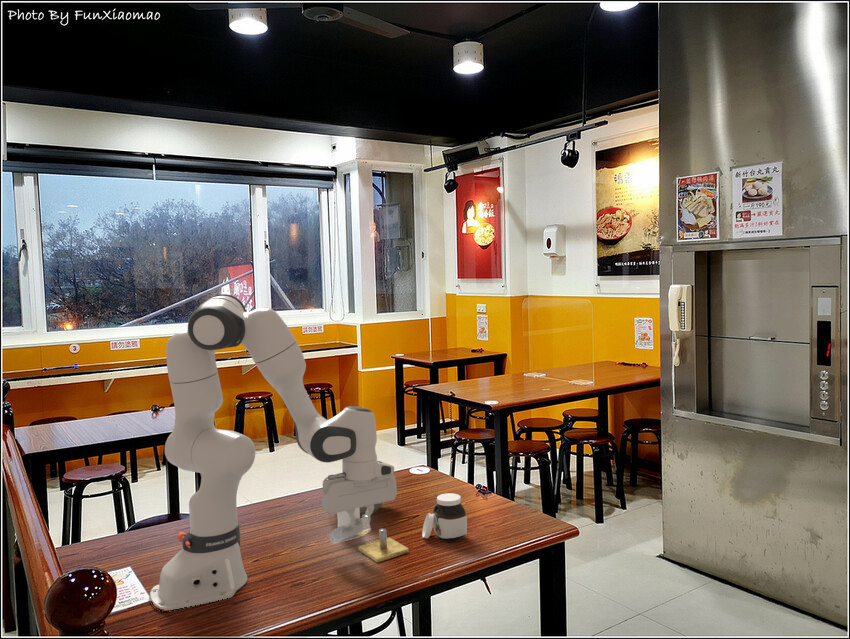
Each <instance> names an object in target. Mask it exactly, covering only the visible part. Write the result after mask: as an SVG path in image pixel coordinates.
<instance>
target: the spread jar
mask: <svg viewBox="0 0 850 639" xmlns="http://www.w3.org/2000/svg"><path fill="white" fill-rule="evenodd" d="M461 502H462V497H461V495H460V494H458V493H449V492H448V493H442V494H439V495H437V497H436V504H435V505H434V506H433V510H432V513H430V512H429V513H427V514H426V516H425V518H424V521H423V526H422V532H421V533H422V534H421V535H422V536H421V537H422V538H424V539H429V537H430V536H431V534H432V533H431V532H432V529H433V531H434V534H435V536H436V538H437V539H438V540H440V541H441V542H445V543H455V542H458V541H461V540H462V539H463V538H465V536H466V535H467V533H468V520H467V519H468V518H467V511H466V509H465V507H464V505H463V504H462V503H461Z"/></svg>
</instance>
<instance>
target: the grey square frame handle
mask: <svg viewBox="0 0 850 639" xmlns="http://www.w3.org/2000/svg"><path fill="white" fill-rule="evenodd" d="M358 522H359V524H358V525H355V526H352V525H351V524H347V525H342V526H340V527H338V526H337V528H335V529H333V530H331V531H329V533H328V534H329V541H330V544H331V545H333V544H338V543H342V542H345V541H351V540H354V539H358V538H360V537H363V536H365V535H366V534H368V533H370V532H372V528H371V524H370V522H369V519H368V517H363V518H362V517H360V519H359V521H358Z"/></svg>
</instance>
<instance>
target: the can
mask: <svg viewBox="0 0 850 639" xmlns="http://www.w3.org/2000/svg"><path fill="white" fill-rule="evenodd" d="M336 514H337V516H336V517H337V528H338V527H340V526H342V525H347V524H351V523H350V517H349V515H348V514H347V512H346V511H341V512H337V513H336ZM353 514H354V516H355V517H357V518H359V519H360V518H361V516H360V508H355V513H353Z"/></svg>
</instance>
